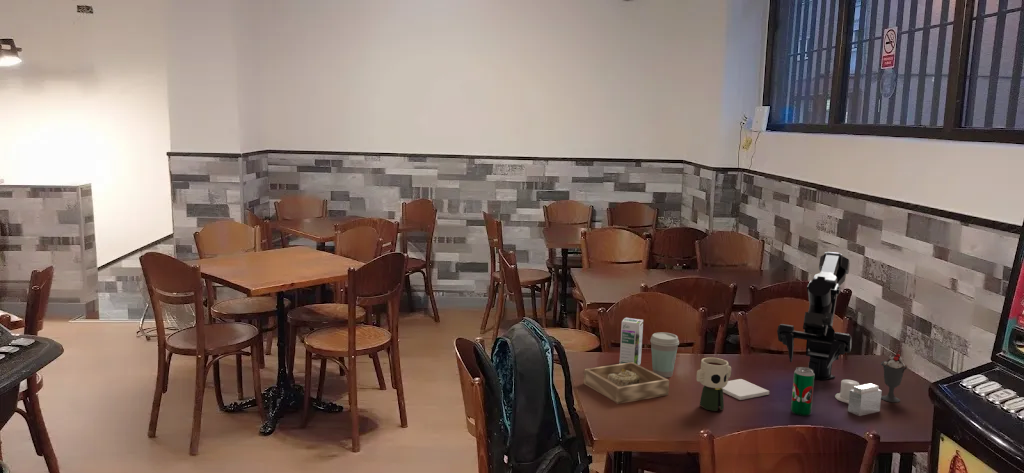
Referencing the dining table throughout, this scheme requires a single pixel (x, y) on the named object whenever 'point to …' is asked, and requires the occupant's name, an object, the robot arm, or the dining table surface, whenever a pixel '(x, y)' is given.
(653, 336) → the coffee cup
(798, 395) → the soda can
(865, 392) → the napkin holder
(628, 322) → the syrup box
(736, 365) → the dining table surface
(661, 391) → the bread tray
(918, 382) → the dining table surface
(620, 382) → the coiled snake
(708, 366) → the character mug
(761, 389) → the coaster
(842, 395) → the white flanged peg
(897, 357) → the sundae
